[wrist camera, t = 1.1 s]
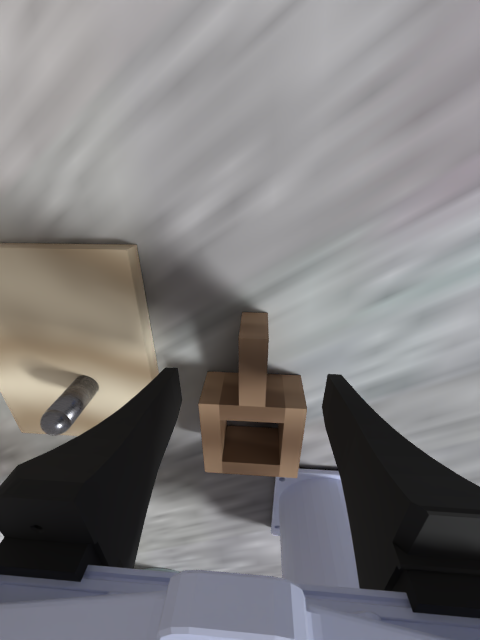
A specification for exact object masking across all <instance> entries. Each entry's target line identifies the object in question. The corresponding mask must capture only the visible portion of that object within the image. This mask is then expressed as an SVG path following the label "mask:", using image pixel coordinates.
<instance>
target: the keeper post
mask: <svg viewBox="0 0 480 640" xmlns="http://www.w3.org/2000/svg"><path fill="white" fill-rule="evenodd" d="M98 390H99V385H98V383H97V382H96V381H95V380H94V379H93V378H91V377H89V376H84V375H82V376H78V377H77V378H76V379H75V380H74V381H73V382H72V383H71V384H70V386H69V387H68V388H67V389H66V390H65V391H64V392H63V393H62V394H61V395H60V396H59V397H58V399H57V400H56V401H55V402H54V403H53V404H52V405H51V406H50V407H49V408H48V409H47V410H46V412H45V413H44V414H43V415H42V417H41V421H40V426H41V429H42V430H43V431H44V432H45V433H46V434H49V435H60V434H62V433H64V432H66V431H67V430H68V429H69V428H70V427H71V426H72V424H73V423H74V422H75V421H76V419H77V418H78V417H79V415H80V414H81V413H82V411H83V410H84V409H85V407H86V406H87V405H88V404H89V402H90V401H91V400H92V398H93V397H94V396H95V394H96V393H97V392H98Z"/></svg>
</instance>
